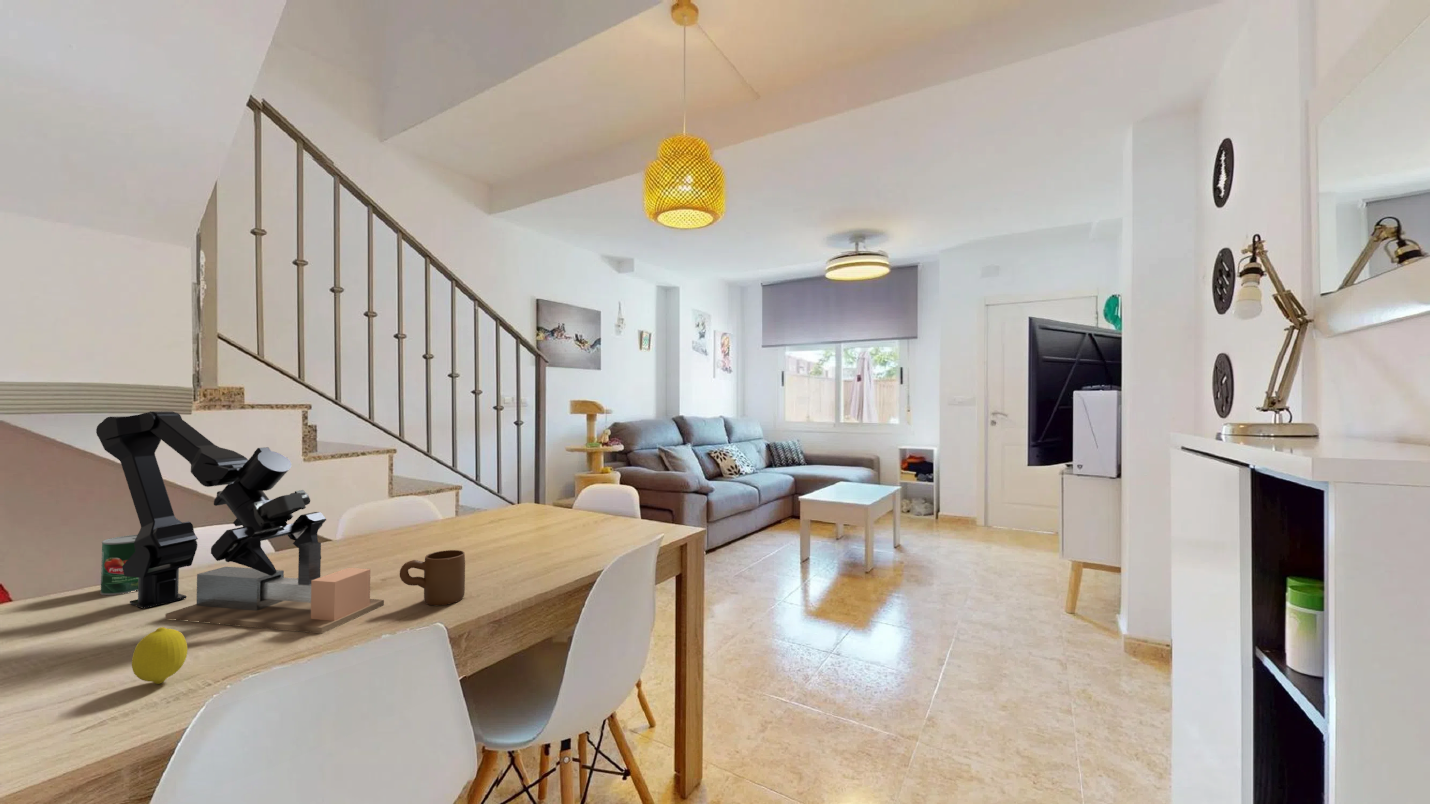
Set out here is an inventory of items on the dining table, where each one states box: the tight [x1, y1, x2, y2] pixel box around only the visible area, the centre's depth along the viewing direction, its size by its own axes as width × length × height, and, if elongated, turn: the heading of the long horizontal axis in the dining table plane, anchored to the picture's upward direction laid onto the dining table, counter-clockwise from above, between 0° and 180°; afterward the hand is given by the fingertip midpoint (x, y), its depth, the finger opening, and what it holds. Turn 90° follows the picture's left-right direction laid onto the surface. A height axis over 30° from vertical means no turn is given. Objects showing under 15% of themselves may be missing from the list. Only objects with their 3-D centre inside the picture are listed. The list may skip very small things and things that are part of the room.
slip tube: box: [260, 541, 322, 603], centre depth 104 cm, size 23×3×11 cm, turn 80°
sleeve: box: [195, 566, 285, 611], centre depth 105 cm, size 14×5×6 cm, turn 80°
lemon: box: [131, 626, 188, 685], centre depth 77 cm, size 6×6×8 cm
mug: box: [399, 549, 466, 606], centre depth 110 cm, size 12×8×9 cm, turn 128°
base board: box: [164, 598, 385, 634], centre depth 104 cm, size 34×14×1 cm, turn 80°
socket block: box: [311, 567, 371, 621], centre depth 101 cm, size 5×8×7 cm, turn 170°
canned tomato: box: [99, 534, 138, 596], centre depth 116 cm, size 8×8×11 cm
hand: (297, 566), depth 103 cm, fingers open, 9 cm apart
